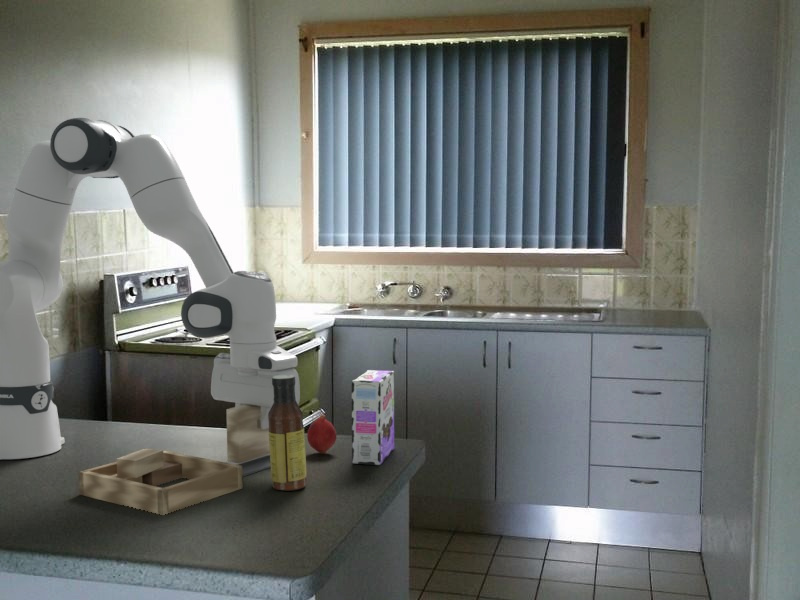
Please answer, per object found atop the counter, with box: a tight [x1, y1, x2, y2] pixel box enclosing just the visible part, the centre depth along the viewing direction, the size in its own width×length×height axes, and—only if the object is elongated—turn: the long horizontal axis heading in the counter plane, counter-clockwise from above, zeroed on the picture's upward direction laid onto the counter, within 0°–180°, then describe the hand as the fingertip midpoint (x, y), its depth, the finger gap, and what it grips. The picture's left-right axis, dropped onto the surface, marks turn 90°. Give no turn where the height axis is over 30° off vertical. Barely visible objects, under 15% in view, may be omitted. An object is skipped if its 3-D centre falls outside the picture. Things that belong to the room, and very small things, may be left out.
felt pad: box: [224, 454, 271, 477], centre depth 186 cm, size 9×17×1 cm, turn 146°
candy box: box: [351, 369, 395, 466], centre depth 190 cm, size 14×6×16 cm, turn 168°
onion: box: [306, 414, 337, 455], centre depth 193 cm, size 6×6×8 cm
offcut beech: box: [116, 448, 164, 478], centre depth 171 cm, size 4×8×3 cm, turn 159°
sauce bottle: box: [268, 375, 308, 492], centre depth 169 cm, size 7×6×20 cm
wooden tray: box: [78, 449, 244, 516], centre depth 167 cm, size 21×18×4 cm
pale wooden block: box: [226, 404, 270, 463], centre depth 185 cm, size 3×12×10 cm, turn 146°
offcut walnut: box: [142, 460, 183, 487], centre depth 174 cm, size 4×7×3 cm, turn 146°
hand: (254, 427), depth 185 cm, fingers closed on pale wooden block, 3 cm apart
